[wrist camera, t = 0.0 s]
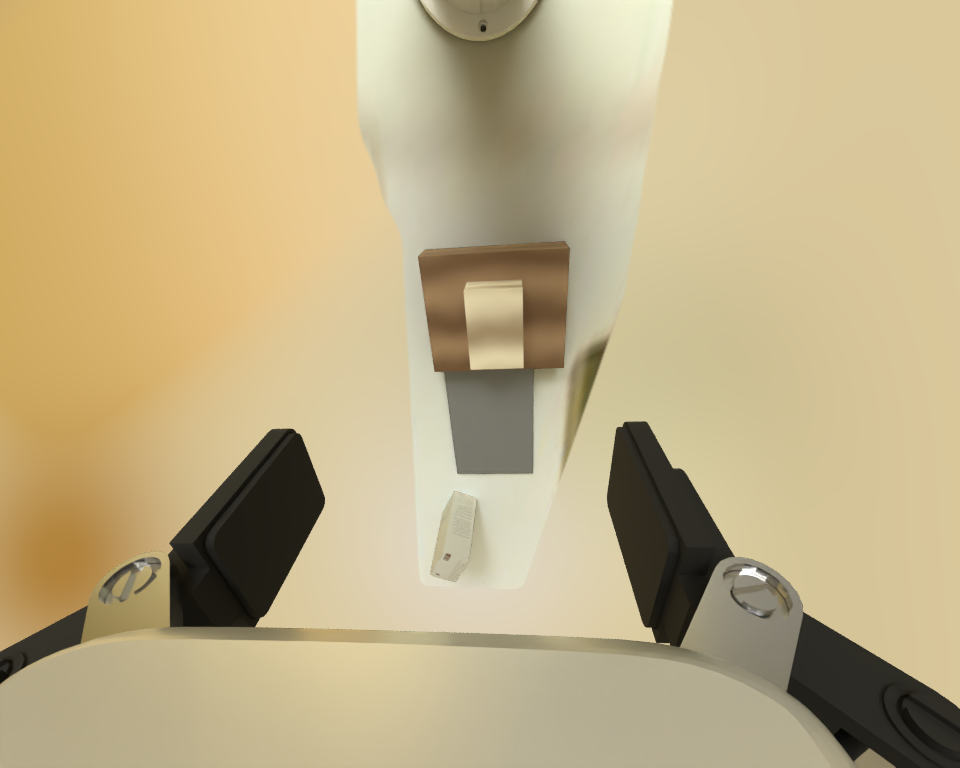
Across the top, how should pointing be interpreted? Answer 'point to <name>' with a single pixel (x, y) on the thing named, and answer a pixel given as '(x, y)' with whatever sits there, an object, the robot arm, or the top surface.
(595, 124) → the top surface
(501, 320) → the beige rectangular block
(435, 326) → the step
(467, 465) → the mat
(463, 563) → the skincare box
